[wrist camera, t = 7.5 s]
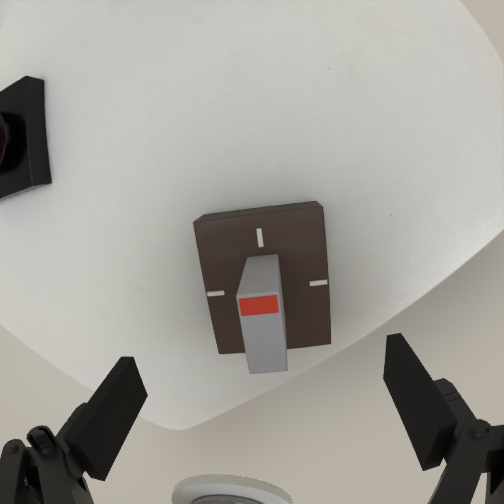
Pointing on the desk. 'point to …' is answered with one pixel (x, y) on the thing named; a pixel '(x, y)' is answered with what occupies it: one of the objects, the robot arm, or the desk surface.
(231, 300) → the dial panel
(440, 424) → the robot arm
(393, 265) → the desk surface
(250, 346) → the dial
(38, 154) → the button block
